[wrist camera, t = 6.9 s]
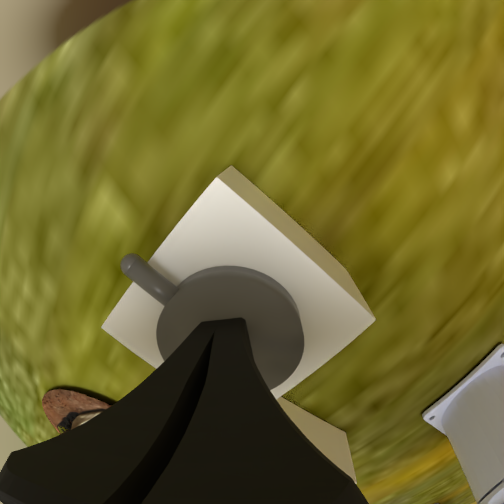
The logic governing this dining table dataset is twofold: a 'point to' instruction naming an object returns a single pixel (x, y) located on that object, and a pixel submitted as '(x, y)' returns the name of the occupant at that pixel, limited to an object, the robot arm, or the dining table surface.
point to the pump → (227, 311)
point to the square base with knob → (254, 257)
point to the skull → (70, 408)
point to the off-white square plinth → (322, 436)
